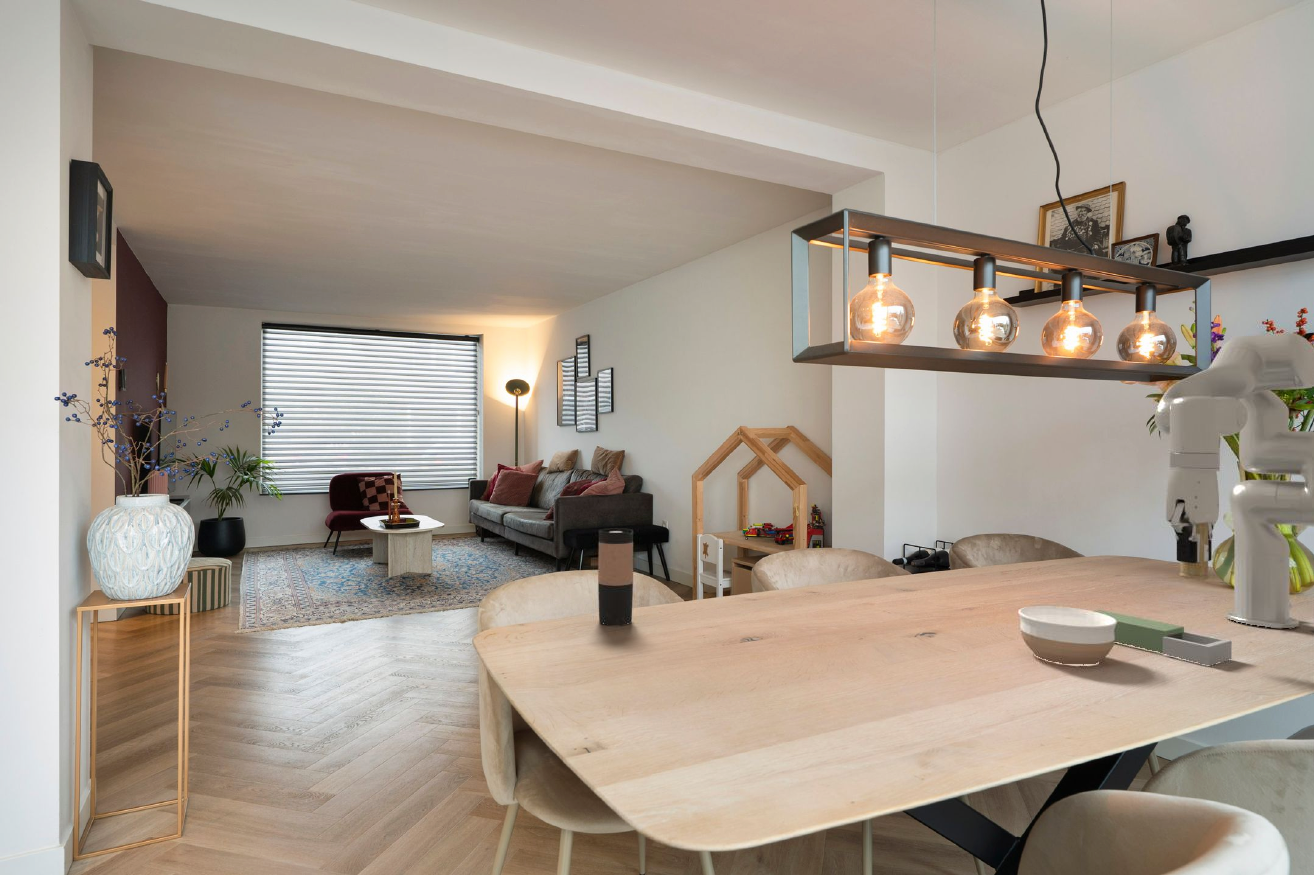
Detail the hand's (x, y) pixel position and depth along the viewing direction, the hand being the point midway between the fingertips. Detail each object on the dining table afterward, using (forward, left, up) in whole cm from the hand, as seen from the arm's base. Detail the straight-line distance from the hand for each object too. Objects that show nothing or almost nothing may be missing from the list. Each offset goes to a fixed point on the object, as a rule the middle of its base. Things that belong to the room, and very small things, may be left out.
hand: (1194, 560), depth 138 cm
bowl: (+22, -11, -18) cm, 30 cm away
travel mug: (+83, -75, -18) cm, 113 cm away
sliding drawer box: (0, -7, -18) cm, 20 cm away
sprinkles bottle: (0, 0, -4) cm, 4 cm away
